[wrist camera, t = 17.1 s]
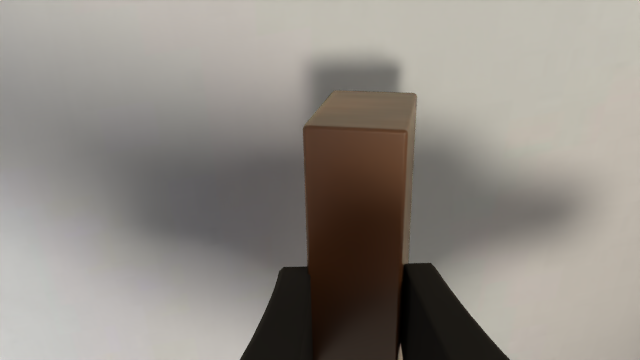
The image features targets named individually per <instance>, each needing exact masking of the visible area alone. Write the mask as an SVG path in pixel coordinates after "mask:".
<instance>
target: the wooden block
mask: <svg viewBox="0 0 640 360" xmlns="http://www.w3.org/2000/svg"><path fill="white" fill-rule="evenodd" d="M416 106H417V95H416V94H415V93H398V92H367V91H337V90H335V91H333V92H332V93H331V94H330V96H329V97H328V98H327V99H326V100H325V102H324V103H323V104H322V105H321V106H320V107H319V109H318V110H317V111H316V112H315V113H314V115H313V116H312V117H311V118H310V119H309V120H308V122H307V123H306V124H305V125H304V127H303V146H304V177H305V207H306V238H307V268H308V274H309V275H310V278H311V309H312V340H313V360H403V357H402V350H401V325H402V304H403V283H404V264H408V262H409V242H410V223H411V203H412V184H413V164H414V145H415V125H416Z"/></svg>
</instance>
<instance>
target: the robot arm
mask: <svg viewBox="0 0 640 360" xmlns="http://www.w3.org/2000/svg"><path fill="white" fill-rule="evenodd" d="M401 350H402V357H403V360H510V359H509V358H508V357H507V356H506V355H505V354H504V353H503V352H502V351H501V350H500V349H499V348H498V347H497V345H496V344H495V343H494V342H493V341H492V340H491V339H490V338H489V336H488V335H487V334H486V333H485V332H484V331H483V329H482V328H481V327H480V326H479V325H478V323H477V322H476V321H475V320H474V319H473V317H472V316H471V315H470V314H469V313H468V311H467V310H466V309H465V308H464V306H463V305H462V304H461V302H460V301H459V300H458V299H457V297H456V296H455V295H454V293H453V292H452V291H451V289H450V288H449V287H448V285H447V284H446V282H445V281H444V280H443V278H442V277H441V275H440V274H439V272H438V271H437V270H436V268H435V267H434V266H433V265H432V264H431V263H414V264H404V283H403V304H402V325H401ZM240 360H313V340H312V309H311V278H310V275H309V274H308V268H307V267H283V268H282V269H281V270H280V271H279V274H278V278H277V281H276V284H275V288H274V290H273V293H272V296H271V298H270V301H269V303H268V305H267V308H266V310H265V312H264V314H263V317H262V319H261V321H260V323H259V325H258V327H257V329H256V331H255V333H254V335H253V337H252V339H251V341H250V343H249V345H248V346H247V348H246V350H245V352H244V353H243V355H242V357H241V359H240Z"/></svg>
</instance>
